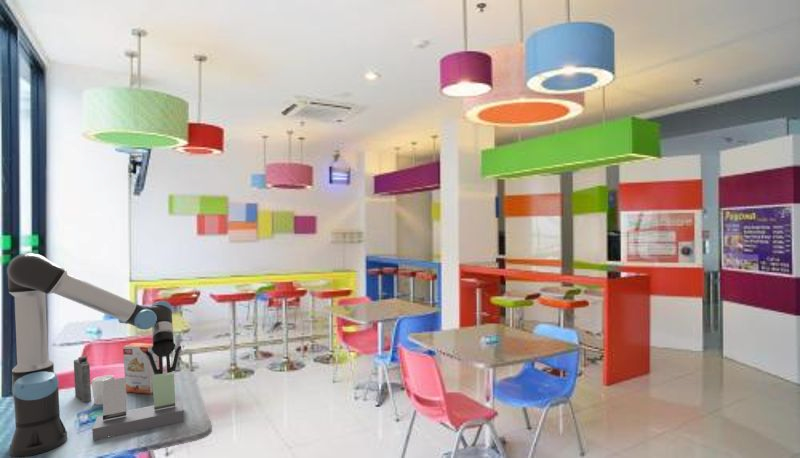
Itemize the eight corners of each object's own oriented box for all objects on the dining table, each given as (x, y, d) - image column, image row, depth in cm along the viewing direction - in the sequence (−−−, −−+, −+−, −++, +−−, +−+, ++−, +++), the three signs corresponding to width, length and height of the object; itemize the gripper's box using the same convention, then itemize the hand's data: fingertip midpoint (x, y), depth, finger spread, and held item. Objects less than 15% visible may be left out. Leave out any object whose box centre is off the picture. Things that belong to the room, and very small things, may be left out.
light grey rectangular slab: (103, 420, 160) (103, 381, 165) (126, 415, 163) (126, 378, 168) (102, 419, 159) (103, 381, 164) (125, 415, 162) (125, 377, 167)
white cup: (119, 398, 193) (118, 374, 193) (105, 405, 185) (104, 381, 185) (102, 398, 194) (101, 375, 194) (88, 405, 186) (86, 381, 186)
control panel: (97, 427, 164) (97, 416, 164) (182, 409, 177) (182, 399, 177) (92, 440, 153) (92, 429, 153) (183, 421, 166) (183, 410, 166)
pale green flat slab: (154, 408, 168) (152, 375, 166) (175, 404, 171) (173, 371, 169) (154, 410, 166) (152, 377, 164) (175, 406, 170) (173, 373, 167)
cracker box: (124, 392, 199) (122, 345, 199) (136, 387, 205) (133, 342, 205) (149, 394, 195) (147, 346, 195) (160, 389, 201) (158, 343, 201)
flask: (84, 393, 201) (82, 353, 201) (94, 400, 191) (92, 358, 191) (74, 395, 198) (72, 355, 198) (84, 403, 189) (82, 360, 188)
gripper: (181, 337, 189) (185, 389, 175) (145, 343, 183) (146, 397, 169) (180, 327, 184) (184, 379, 170) (144, 333, 178) (145, 387, 164)
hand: (165, 388), depth 169 cm, fingers closed
